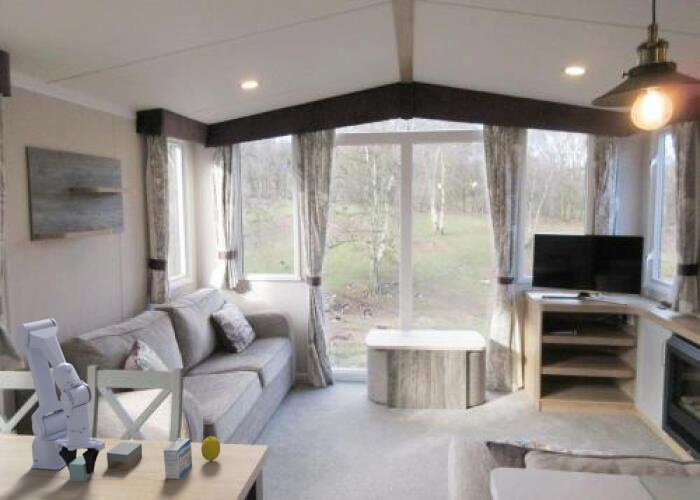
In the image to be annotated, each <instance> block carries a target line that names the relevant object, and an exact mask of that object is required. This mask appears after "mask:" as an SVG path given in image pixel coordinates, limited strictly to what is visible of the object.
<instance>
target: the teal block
mask: <svg viewBox="0 0 700 500" xmlns="http://www.w3.org/2000/svg"><path fill="white" fill-rule="evenodd" d="M68 471H69V473H68V474H69V481H76V482H85V481H87V480H88V479H89V478H90V477H91V476H92V475H94V474H95V470H94V471H93V472H92V473H91V474H87V470H86V463H85V459H84V457H83V455H79V456H78V457H77V456H76V459H75V460H73V461H72V462H71V463H69V469H68Z"/></svg>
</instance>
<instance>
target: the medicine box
mask: <svg viewBox="0 0 700 500" xmlns="http://www.w3.org/2000/svg"><path fill="white" fill-rule="evenodd" d="M192 454H193V453H192V440H191V439H190V438H185V437H178V438H176V439H175V440H174V441H173V442H172V443H171V444H169V445H168V446H167V447H166V448H165V449H164V450H163V460H164V473H165V475H164V477H165V479H173V480H180V479H181V478H182V477H183V476H184V474H185V473H186V472H188V470H189V469H191V467H192V466H193V456H192Z"/></svg>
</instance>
